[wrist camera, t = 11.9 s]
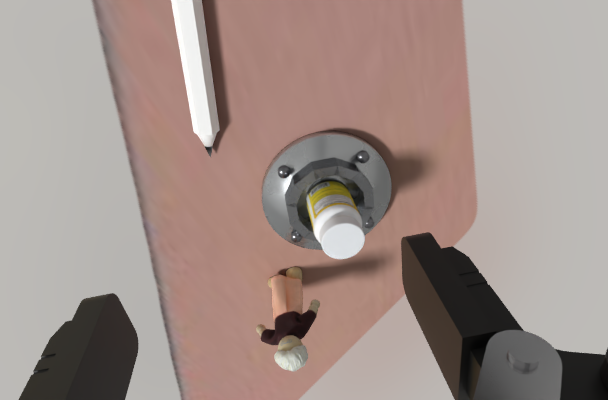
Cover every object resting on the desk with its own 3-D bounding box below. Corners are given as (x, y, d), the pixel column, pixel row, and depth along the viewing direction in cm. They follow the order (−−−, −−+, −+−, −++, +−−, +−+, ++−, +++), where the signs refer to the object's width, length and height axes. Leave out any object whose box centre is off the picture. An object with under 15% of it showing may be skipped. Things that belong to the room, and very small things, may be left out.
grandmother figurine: (297, 255, 49) (312, 339, 38) (316, 273, 51) (335, 359, 40) (248, 288, 51) (248, 378, 40) (267, 305, 53) (273, 395, 42)
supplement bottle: (340, 218, 46) (358, 266, 39) (299, 211, 45) (310, 259, 37) (355, 181, 44) (376, 224, 36) (312, 172, 43) (326, 215, 35)
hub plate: (249, 145, 41) (249, 158, 39) (385, 119, 42) (395, 130, 39) (274, 253, 49) (276, 271, 46) (390, 230, 49) (399, 246, 46)
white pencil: (210, 150, 42) (181, -27, 34) (228, 153, 42) (202, -27, 33) (195, 161, 40) (160, -25, 32) (213, 164, 40) (182, -25, 31)
